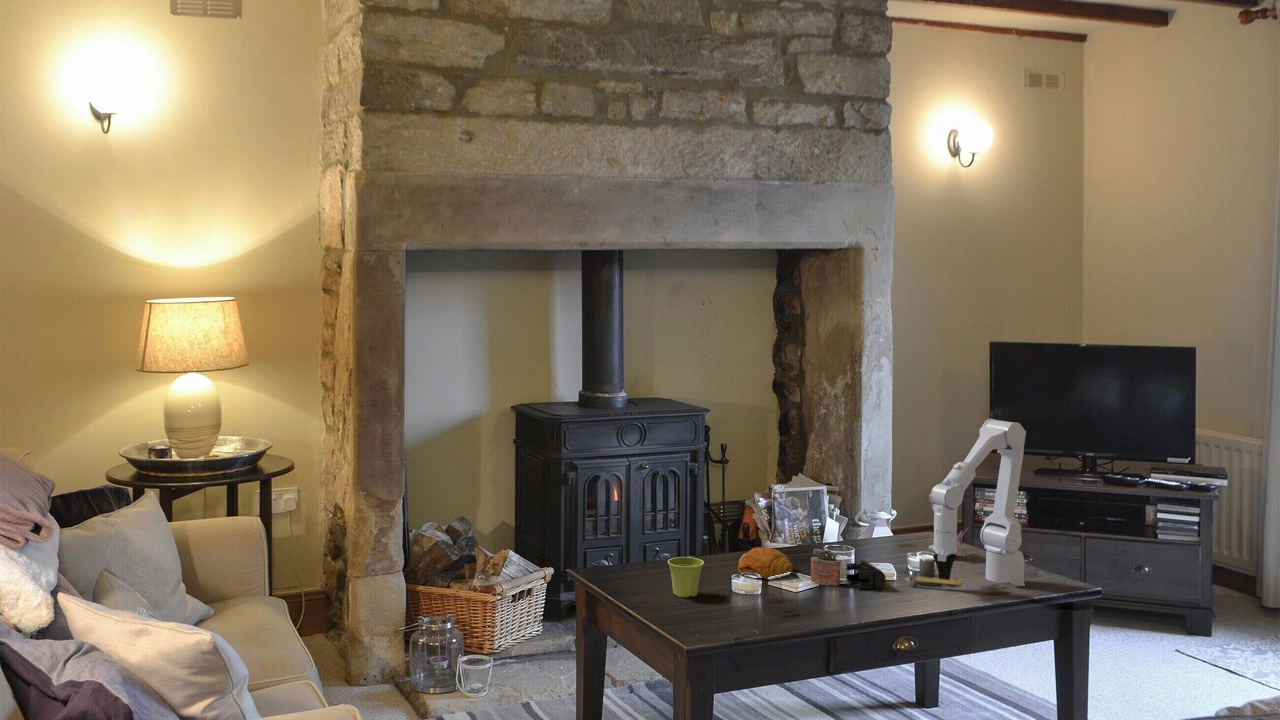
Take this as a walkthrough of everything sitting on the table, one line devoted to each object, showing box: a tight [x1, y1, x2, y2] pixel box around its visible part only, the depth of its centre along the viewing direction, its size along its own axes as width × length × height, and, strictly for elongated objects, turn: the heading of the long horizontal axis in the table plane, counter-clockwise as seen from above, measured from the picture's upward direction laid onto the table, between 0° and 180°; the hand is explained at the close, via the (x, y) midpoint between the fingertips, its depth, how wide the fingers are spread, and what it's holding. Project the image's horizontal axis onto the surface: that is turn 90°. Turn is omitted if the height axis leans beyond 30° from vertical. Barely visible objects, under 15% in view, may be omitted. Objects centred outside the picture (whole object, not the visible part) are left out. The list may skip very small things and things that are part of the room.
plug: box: [917, 556, 942, 588], centre depth 298 cm, size 8×8×7 cm
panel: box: [903, 577, 950, 589], centre depth 297 cm, size 16×13×1 cm
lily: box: [956, 526, 971, 561], centre depth 328 cm, size 12×12×10 cm
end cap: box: [846, 559, 887, 591], centre depth 295 cm, size 10×7×7 cm
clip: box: [909, 570, 963, 588], centre depth 292 cm, size 13×2×4 cm, turn 69°
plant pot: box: [667, 556, 705, 598], centre depth 289 cm, size 9×9×9 cm
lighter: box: [810, 548, 842, 587], centre depth 297 cm, size 8×3×10 cm, turn 65°
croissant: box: [737, 546, 794, 578], centre depth 311 cm, size 14×16×8 cm
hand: (944, 582), depth 292 cm, fingers closed, pressing on clip
